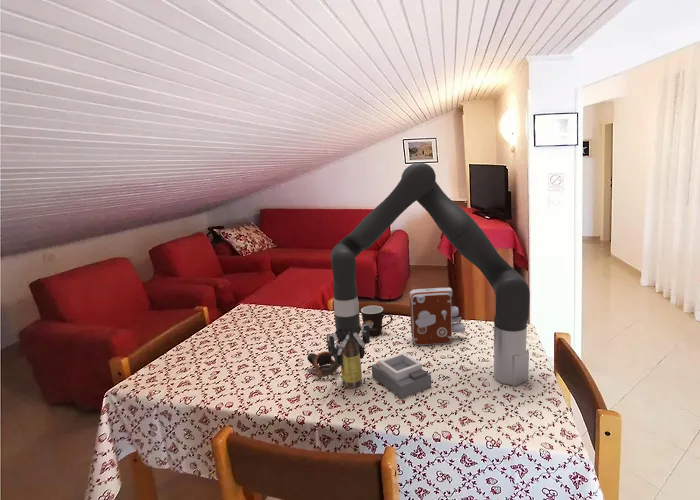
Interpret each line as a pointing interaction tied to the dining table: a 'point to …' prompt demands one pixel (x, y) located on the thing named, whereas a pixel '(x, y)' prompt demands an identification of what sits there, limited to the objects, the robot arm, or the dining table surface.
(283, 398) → the dining table surface
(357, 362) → the sauce bottle
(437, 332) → the cine camera
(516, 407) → the dining table surface
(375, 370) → the retro computer monitor
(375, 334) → the coffee mug
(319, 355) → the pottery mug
